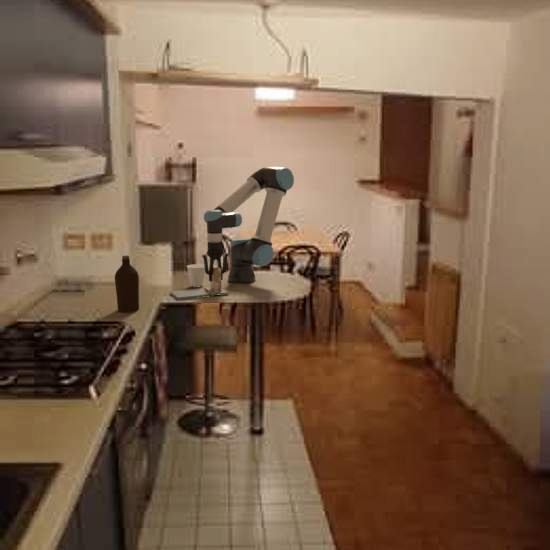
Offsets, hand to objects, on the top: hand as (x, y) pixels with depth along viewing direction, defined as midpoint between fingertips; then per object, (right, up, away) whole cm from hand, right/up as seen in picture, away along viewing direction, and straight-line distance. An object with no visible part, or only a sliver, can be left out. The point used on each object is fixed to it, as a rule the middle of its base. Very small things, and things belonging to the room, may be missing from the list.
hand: (215, 286), depth 313 cm
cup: (-12, 0, +15) cm, 19 cm away
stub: (0, -3, +1) cm, 3 cm away
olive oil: (-37, -10, -31) cm, 49 cm away
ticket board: (-13, -4, -5) cm, 14 cm away
